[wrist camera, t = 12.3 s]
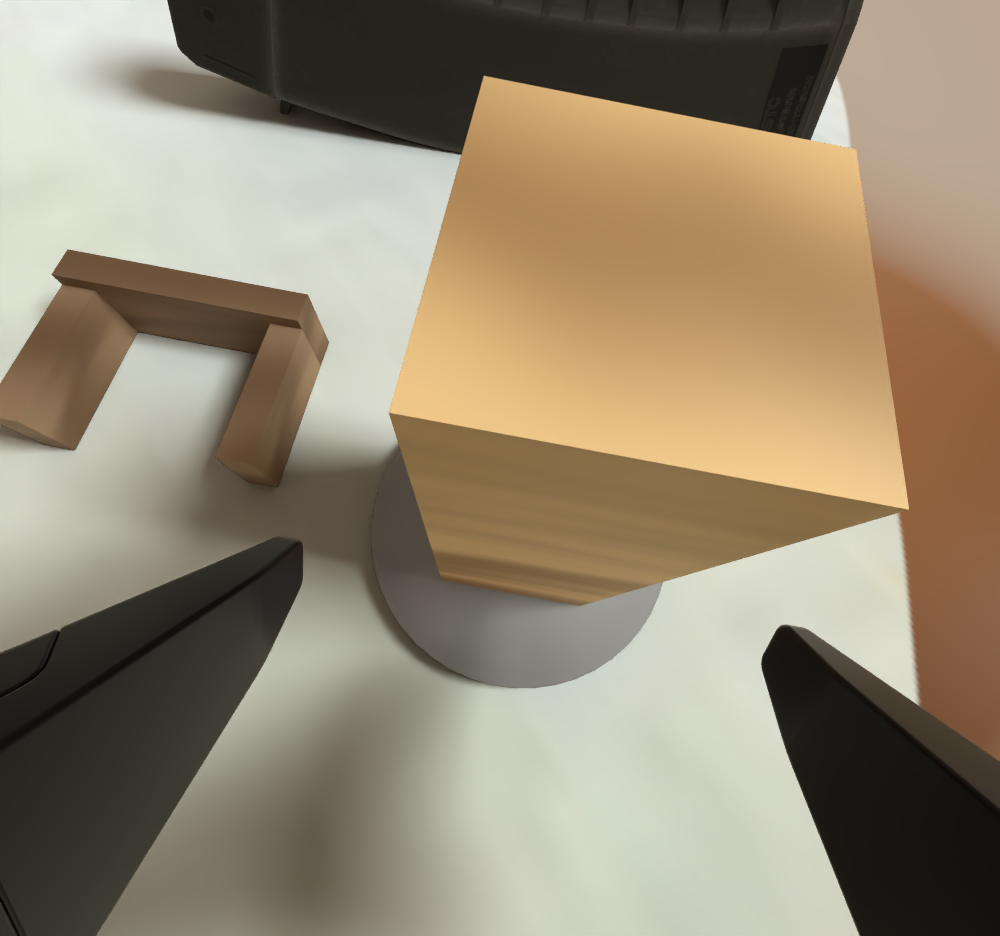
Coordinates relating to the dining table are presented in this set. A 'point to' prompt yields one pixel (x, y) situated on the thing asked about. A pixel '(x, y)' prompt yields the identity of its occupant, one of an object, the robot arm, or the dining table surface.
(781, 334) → the oak block
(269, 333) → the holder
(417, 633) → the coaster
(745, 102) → the magazine
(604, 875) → the dining table surface
